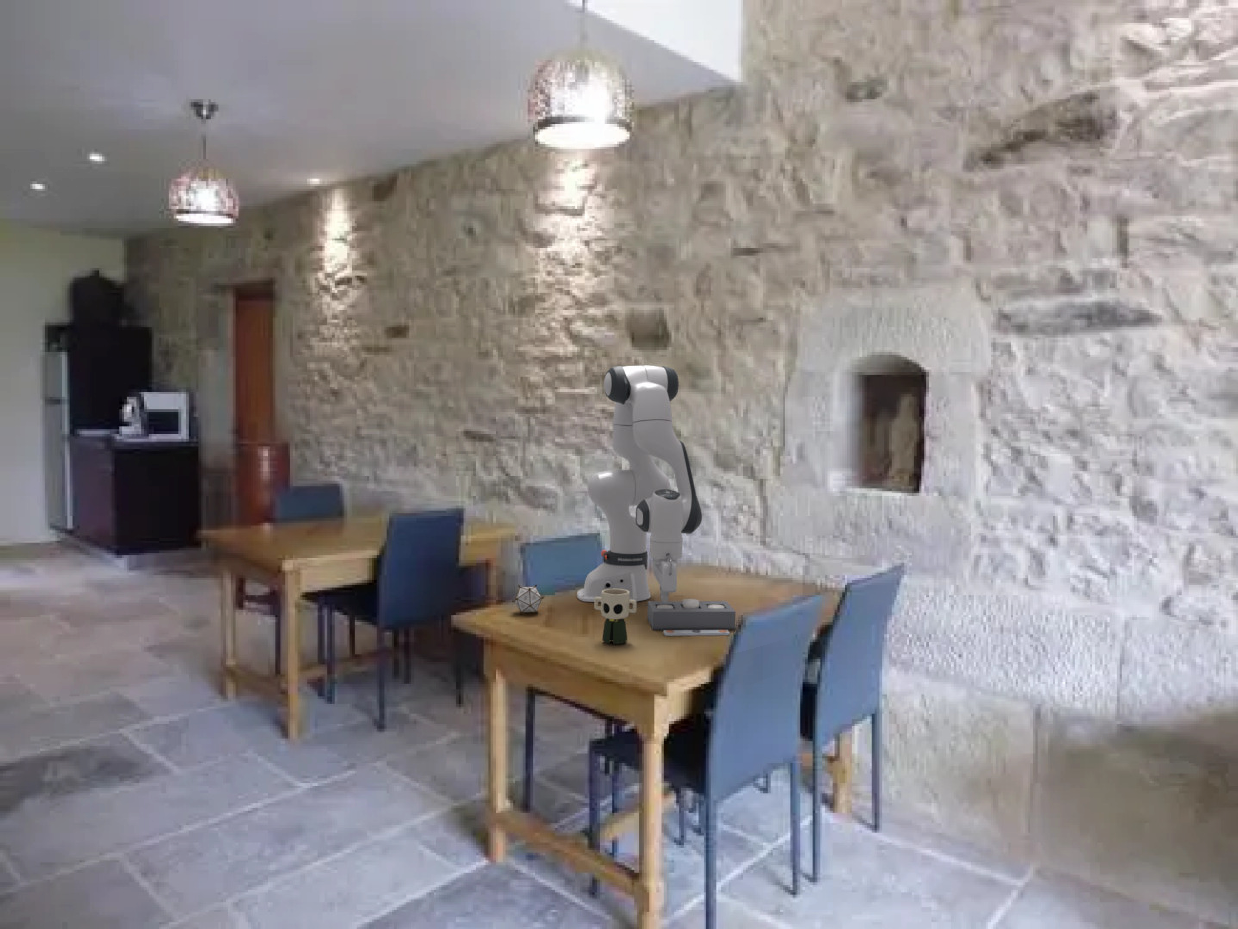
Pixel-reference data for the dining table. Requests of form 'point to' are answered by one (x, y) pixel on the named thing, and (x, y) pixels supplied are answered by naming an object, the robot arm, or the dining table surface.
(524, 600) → the white spiked icosahedron
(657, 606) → the left button
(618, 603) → the character mug
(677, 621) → the button box
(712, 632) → the pattern card
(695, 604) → the middle button
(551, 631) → the dining table surface
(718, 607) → the right button
